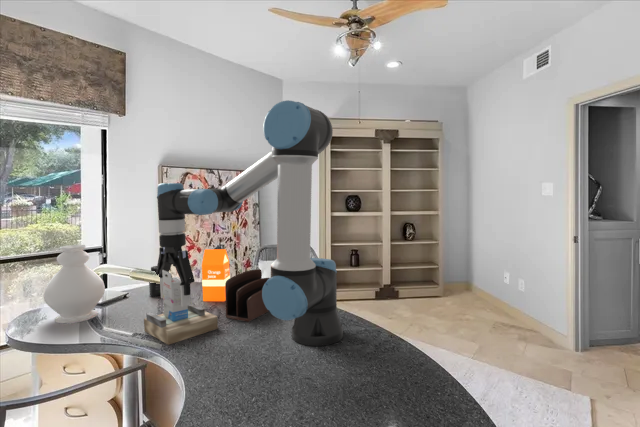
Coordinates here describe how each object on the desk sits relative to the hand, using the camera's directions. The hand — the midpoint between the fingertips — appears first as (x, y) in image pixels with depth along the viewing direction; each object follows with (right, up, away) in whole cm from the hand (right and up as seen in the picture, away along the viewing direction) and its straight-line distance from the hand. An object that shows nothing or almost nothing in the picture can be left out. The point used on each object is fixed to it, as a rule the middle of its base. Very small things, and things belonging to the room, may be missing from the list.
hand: (175, 301), depth 116 cm
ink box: (0, -5, +1) cm, 5 cm away
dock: (+2, -9, +1) cm, 9 cm away
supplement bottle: (-23, -7, +41) cm, 47 cm away
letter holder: (+22, -8, +18) cm, 29 cm away
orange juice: (+4, -7, +34) cm, 35 cm away
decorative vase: (-40, -9, +14) cm, 44 cm away
